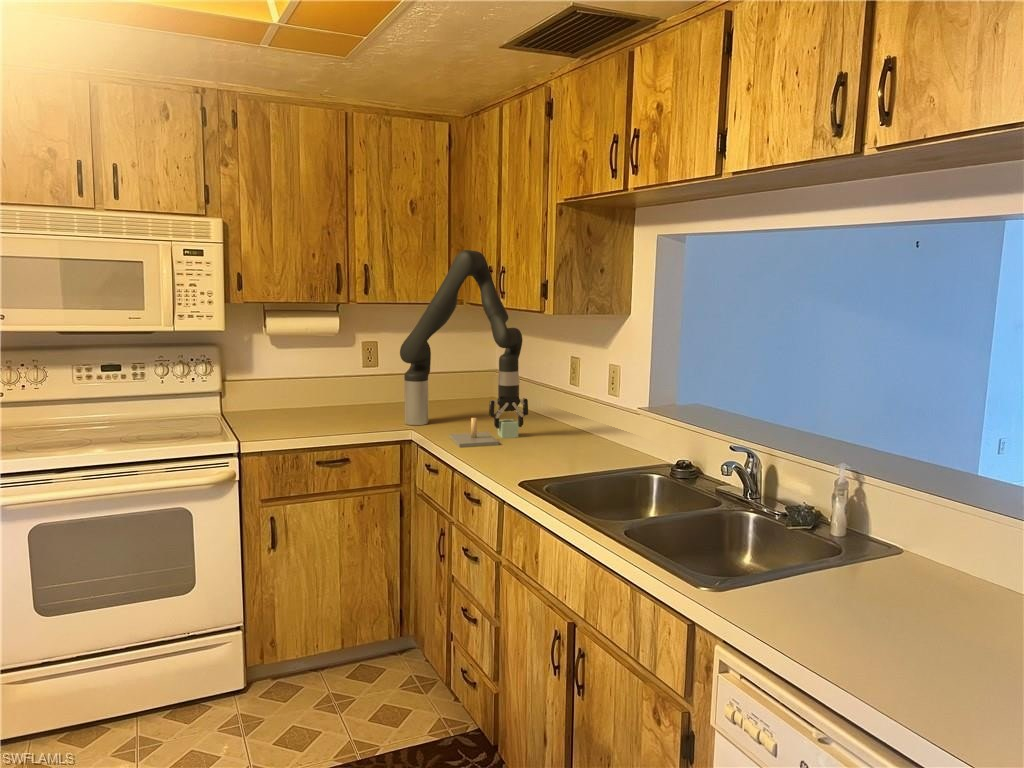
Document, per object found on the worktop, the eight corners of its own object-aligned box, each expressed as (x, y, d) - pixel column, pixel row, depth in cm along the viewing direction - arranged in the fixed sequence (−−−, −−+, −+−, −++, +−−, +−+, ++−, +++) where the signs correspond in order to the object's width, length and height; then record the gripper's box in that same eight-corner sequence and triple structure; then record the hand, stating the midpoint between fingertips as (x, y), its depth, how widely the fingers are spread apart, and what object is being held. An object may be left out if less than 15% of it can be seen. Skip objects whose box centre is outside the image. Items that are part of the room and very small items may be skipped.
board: (449, 437, 265) (449, 414, 264) (487, 435, 269) (487, 413, 268) (459, 447, 250) (459, 423, 249) (499, 445, 254) (499, 421, 253)
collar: (497, 434, 271) (497, 420, 270) (513, 433, 272) (513, 419, 271) (502, 438, 265) (502, 423, 264) (518, 437, 267) (518, 422, 266)
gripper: (524, 381, 271) (524, 424, 274) (486, 382, 267) (487, 426, 270) (530, 383, 264) (530, 428, 267) (492, 385, 260) (492, 430, 262)
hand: (508, 427), depth 268 cm, fingers open, 8 cm apart
